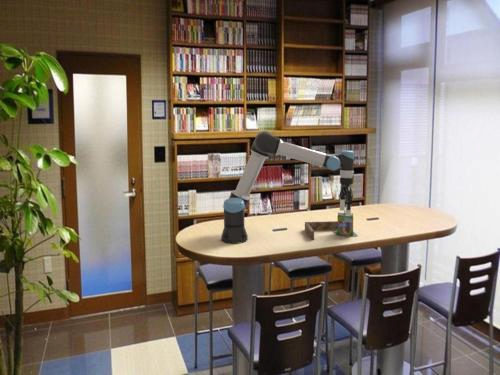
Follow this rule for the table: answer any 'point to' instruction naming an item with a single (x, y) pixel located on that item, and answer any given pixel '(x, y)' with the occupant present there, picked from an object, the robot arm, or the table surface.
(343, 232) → the chalk box
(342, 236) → the pad
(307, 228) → the wooden corner wall
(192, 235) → the table surface
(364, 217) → the table surface
